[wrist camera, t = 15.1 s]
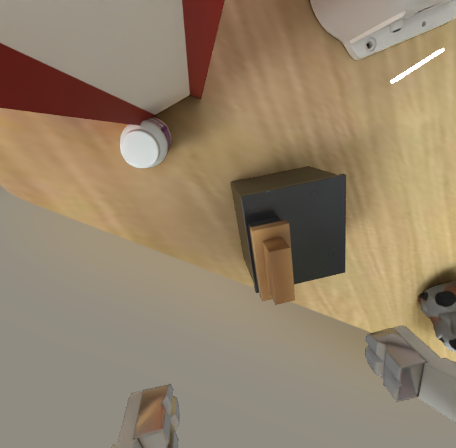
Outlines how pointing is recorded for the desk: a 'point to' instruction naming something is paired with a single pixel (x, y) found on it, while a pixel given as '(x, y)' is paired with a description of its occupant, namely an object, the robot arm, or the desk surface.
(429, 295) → the lucky cat figurine
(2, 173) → the desk surface
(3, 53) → the book
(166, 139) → the pill bottle
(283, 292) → the brush
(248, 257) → the cabinet
